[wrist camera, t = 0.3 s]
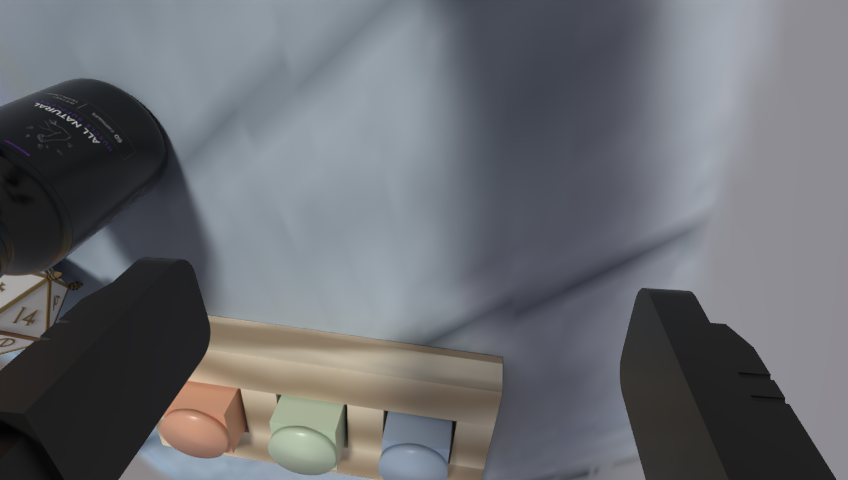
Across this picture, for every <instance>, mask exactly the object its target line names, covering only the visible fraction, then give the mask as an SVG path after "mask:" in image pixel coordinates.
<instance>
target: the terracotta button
mask: <svg viewBox="0 0 848 480" xmlns="http://www.w3.org/2000/svg"><path fill="white" fill-rule="evenodd" d="M163 416H164V420H163V421H162V423H161V425H160V432H161V434H162V436H163V438H164V439H165V440H166V441H167V442H168V443H169V444H170V445H171V446H172V447H174V448H175V449H177V450H179V451H181V452H183V453H185V454H187V455H190V456H194V457H198V458H215V457H219V456H221V455H222V454H223V453H230V454H233V453H234V451H235V449H236V447H237V445H238V443H239V441H240V439H241V437H242V435H243V433H244V431H245V428H246V426H247V419H246V414H245V409H244V404H243V399H242V394H241V389H240V388H233V387H226V386H220V385H213V384H207V383H200V382H193V381H187V382H186V383H185V385H184V386H183V388H182V389H181V391H180V392H179V394H178V395H177V396H176V398H175V399H174V401H173V402H172V404H171V405H170V406H169V408H168V409H167V411H166V412H165V414H164V415H163Z"/></svg>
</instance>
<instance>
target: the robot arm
mask: <svg viewBox="0 0 848 480" xmlns="http://www.w3.org/2000/svg"><path fill="white" fill-rule="evenodd" d="M210 335H211V329H210V323H209V319H208V316H207V313H206V309H205V306H204V302H203V299H202V296H201V292H200V289H199V286H198V282H197V279H196V276H195V272H194V269H193V267H192V265H191V264H190V263H189V262H188V261H186V260H182V259H165V258H148V257H144V258H141V259H139V260H137V261H136V262H135V263H134V264H133V265H132V266H130V267H129V268H128V269H127V270H126V271H125V272H124V273H123V274H121V275H120V276H119V277H118V278H117V279H116V280H115V281H114V282H112V283H111V284H109V285H107V286H105V287H103V288H101V289H100V290H98V291H96V292H94V293H92V294H91V295H89V296H87V297H85V298H83V299H82V300H81V301H80V302H78V303H77V304H76V305H75V306H74V307H73V308H72V309H70V310H69V311H68V312H67V313H66V314H65V315H64V316H62V317H61V318H60V322H59V323H54V324H53V325H52V326H51V327H50V328H49V329H47V330H46V331H45V332H44V333H43V334H42V335H41V336H40V340H39V341H34V342H33V343H31V344H30V345H29V346H28V347H27V348H26V349H25V350H23V351H22V352H21V353H20V354H19V355H18V356H17V357H15V358H14V359H13V360H12V361H11V362H10V363H8V364H7V365H6V366H5V367H4V368H3V369H2V370H1V371H0V480H118V479H119V478H120V477H121V475H122V474H123V472H124V471H125V469H126V468H127V466H128V465H129V464H130V462H131V461H132V459H133V458H134V457H135V455H136V454H137V452H138V451H139V449H140V448H141V447H142V445H143V444H144V442H145V441H146V439H147V438H148V436H149V435H150V434H151V432H152V431H153V429H154V428H155V426H156V425H157V424H158V422H159V421H160V419H161V418H162V416H163V415H164V414H165V412H166V411H167V409H168V408H169V406H170V405H171V404H172V402H173V401H174V399H175V398H176V396H177V395H178V394H179V392H180V391H181V389H182V388H183V386H184V385H185V383H186V382H187V381H188V379H189V378H190V376H191V375H192V373H193V372H194V371H195V369H196V368H197V366H198V365H199V363H200V362H201V361H202V359H203V358H204V356H205V354H206V352H207V349H208V346H209V342H210ZM770 375H771V374H770V373H769V371H768V370H767V368H766V367H765V365H764V363H763V362H762V360H761V358H760V357H759V355H758V354H757V352H756V351H755V349H754V347H752V346H751V345H750V344H749V343H748V342H746V341H745V340H744V339H743V338H742V337H740V336H739V335H738V334H737V333H736V332H734V331H733V330H732V329H731V328H730V327H728V326H727V325H726V324H716V323H710V322H709V320H708V318H707V316H706V314H705V313H704V311H703V309H702V307H701V305H700V304H699V302H698V300H697V298H696V296H695V295H694V294H693V293H692V292H691V291H682V290H665V289H649V288H642V289H640V291H639V292H638V294H637V296H636V300H635V304H634V308H633V311H632V315H631V319H630V323H629V327H628V331H627V335H626V339H625V343H624V347H623V351H622V356H621V362H620V383H621V390H622V395H623V398H624V402H625V406H626V409H627V413H628V417H629V420H630V424H631V427H632V431H633V435H634V438H635V442H636V446H637V449H638V453H639V457H640V460H641V464H642V467H643V471H644V474H645V478H646V480H836V478H835V477H834V475H833V473H832V472H831V470H830V469H829V467H828V465H827V464H826V462H825V461H824V459H823V457H822V456H821V454H820V453H819V451H818V449H817V448H816V446H815V445H814V443H813V442H812V440H811V438H810V437H809V435H808V434H807V432H806V430H805V429H804V427H803V426H802V424H801V422H800V421H799V419H798V418H797V416H796V414H795V413H794V411H793V410H792V408H791V406H790V405H789V404H786V403H785V397H784V395H783V394H782V392H781V391H780V389H779V387H778V386H777V384H776V383H775V381H774V380H771V379H770Z"/></svg>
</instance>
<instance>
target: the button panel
mask: <svg viewBox="0 0 848 480" xmlns="http://www.w3.org/2000/svg"><path fill="white" fill-rule="evenodd" d="M207 316H208V319H209V323H210V329H211V335H210V342H209V346H208V349H207V352H206V354H205V356H204V358H203V359H202V361H201V362H200V363H199V365H198V366H197V368H196V369H195V371H194V372H193V373H192V375H191V376H190V378H189V379H188V381H193V382H200V383H207V384H213V385H220V386H226V387H233V388H240V389H241V394H242V399H243V404H244V409H245V414H246V419H247V426H246V428H245V431H244V433H243V435H242V437H241V439H240V441H239V443H238V445H237V447H236V449H235V451H234V453H233V454H230V453H223V454H222V455H228V456H234V457H240V458H246V459H253V460H259V461H265V462H271V463H276V462H275V461H274V460H273V459H272V457H271V456H270V454H269V452H268V444H269V442H270V439H271V437H272V435H271V429H270V420H271V418H272V415H273V413H274V411H275V408H276V406H277V404H278V402H279V399H280V397H281V395H286V396H293V397H299V398H306V399H312V400H319V401H326V402H332V403H339V404H345V410H346V440H345V444H344V448H343V451H342V455H341V458H340V462H339V465H338V469H337V471H336V470H330V471H328V472H334V473H340V474H346V475H353V476H359V477H365V478H371V479H378V480H384V479H383V478H381V475H380V473H379V471H378V465H379V460H380V456H381V454H382V438H383V433H384V429H385V424H386V420H387V415H388V411H392V412H398V413H405V414H412V415H418V416H425V417H431V418H438V419H445V420H451V421H452V431H451V442H450V452H449V458H448V463H447V464H448V475H447V480H482V475H483V471H484V467H485V463H486V459H487V455H488V451H489V447H490V443H491V439H492V435H493V431H494V426H495V422H496V418H497V414H498V410H499V406H500V402H501V398H502V394H503V358H502V357H498V356H491V355H484V354H477V353H470V352H463V351H456V350H449V349H442V348H434V347H427V346H420V345H413V344H406V343H399V342H392V341H385V340H378V339H371V338H364V337H357V336H350V335H343V334H336V333H329V332H322V331H315V330H308V329H301V328H294V327H287V326H280V325H273V324H266V323H259V322H252V321H245V320H238V319H231V318H224V317H217V316H210V315H207ZM163 420H164V416H162V418H161V419H160V421H159V422H158V424H157V425H156V427H157V430H158V433H159V435H160V438H161V441H162V444H163V445H165V446H171V445H170V444H169V443H168V442H167V441H166V440H165V439H164V438H163V436H162V434H161V432H160V425H161V423H162V421H163ZM171 447H172V446H171Z"/></svg>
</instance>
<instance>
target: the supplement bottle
mask: <svg viewBox="0 0 848 480" xmlns="http://www.w3.org/2000/svg"><path fill="white" fill-rule="evenodd" d="M166 162H167V152H166V146H165V142H164V138H163V136H162V133H161V131H160V129H159V127H158V125H157V124H156V122H155V120H154V119H153V117H152V116H151V115H150V114H149V112H148V111H147V110H146V109H145V108H144V107H143V106H142V105H141V104H140V103H139V102H138V101H137V100H136V99H134V98H133V97H132V96H131V95H129V94H128V93H126V92H125V91H123V90H121V89H119V88H118V87H116V86H113V85H111V84H109V83H106V82H103V81H99V80H94V79H73V80H69V81H65V82H62V83H60V84H57V85H54V86H51V87H49V88H46V89H44V90H41V91H39V92H36V93H33V94H31V95H28V96H26V97H23V98H21V99H18V100H16V101H13V102H11V103H8V104H6V105H3V106H1V107H0V278H1V277H2V276H3V275H7V276H23V275H31V274H36V273H40V272H43V271H45V270H48V269H50V268H52V267H53V266H55V265H56V264H58V263H59V262H60V261H62V260H63V259H65V258H66V257H67V256H68V255H70V254H71V253H72V252H73V251H75V250H76V249H77V248H78V247H80V246H81V245H82V244H83V243H85V242H86V241H87V240H89V239H90V238H91V237H92V236H94V235H95V234H96V233H97V232H99V231H100V230H101V229H102V228H104V227H105V226H106V225H107V224H109V223H110V222H111V221H112V220H114V219H115V218H116V217H117V216H119V215H120V214H121V213H123V212H124V211H125V210H126V209H128V208H129V207H130V206H131V205H133V204H134V203H135V202H136V201H138V200H139V199H140V198H141V197H143V196H144V195H145V194H146V193H147V192H149V191H150V190H151V189H152V188H153V187H154V186H155V185H156V184H157V183H158V182H159V181H160V180H161V178H162V176H163V174H164V171H165V168H166Z"/></svg>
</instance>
